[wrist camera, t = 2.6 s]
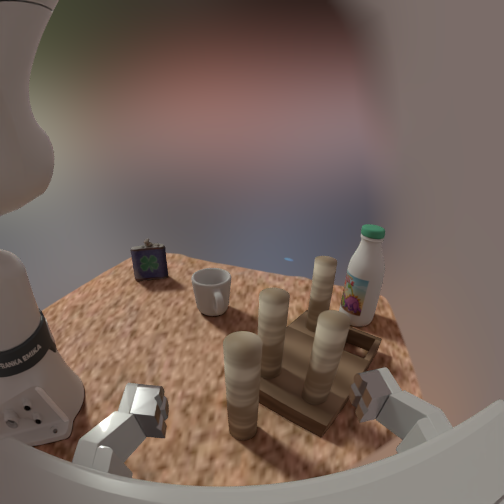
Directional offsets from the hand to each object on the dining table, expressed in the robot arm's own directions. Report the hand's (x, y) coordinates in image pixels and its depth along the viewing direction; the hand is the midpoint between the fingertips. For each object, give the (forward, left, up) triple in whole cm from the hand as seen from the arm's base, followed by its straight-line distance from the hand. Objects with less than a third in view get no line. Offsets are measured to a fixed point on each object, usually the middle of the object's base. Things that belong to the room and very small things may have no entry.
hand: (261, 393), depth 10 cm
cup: (+25, +32, -24) cm, 47 cm away
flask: (+24, +56, -24) cm, 65 cm away
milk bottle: (+43, +8, -24) cm, 50 cm away
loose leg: (+8, +9, -24) cm, 27 cm away
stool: (+24, +8, -24) cm, 35 cm away
